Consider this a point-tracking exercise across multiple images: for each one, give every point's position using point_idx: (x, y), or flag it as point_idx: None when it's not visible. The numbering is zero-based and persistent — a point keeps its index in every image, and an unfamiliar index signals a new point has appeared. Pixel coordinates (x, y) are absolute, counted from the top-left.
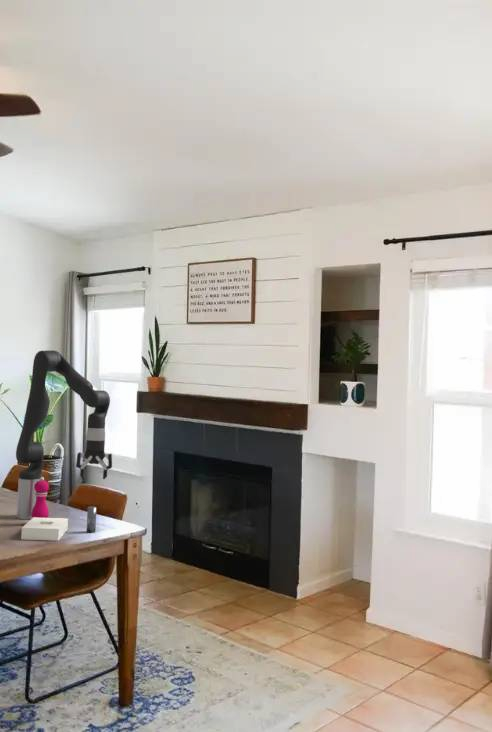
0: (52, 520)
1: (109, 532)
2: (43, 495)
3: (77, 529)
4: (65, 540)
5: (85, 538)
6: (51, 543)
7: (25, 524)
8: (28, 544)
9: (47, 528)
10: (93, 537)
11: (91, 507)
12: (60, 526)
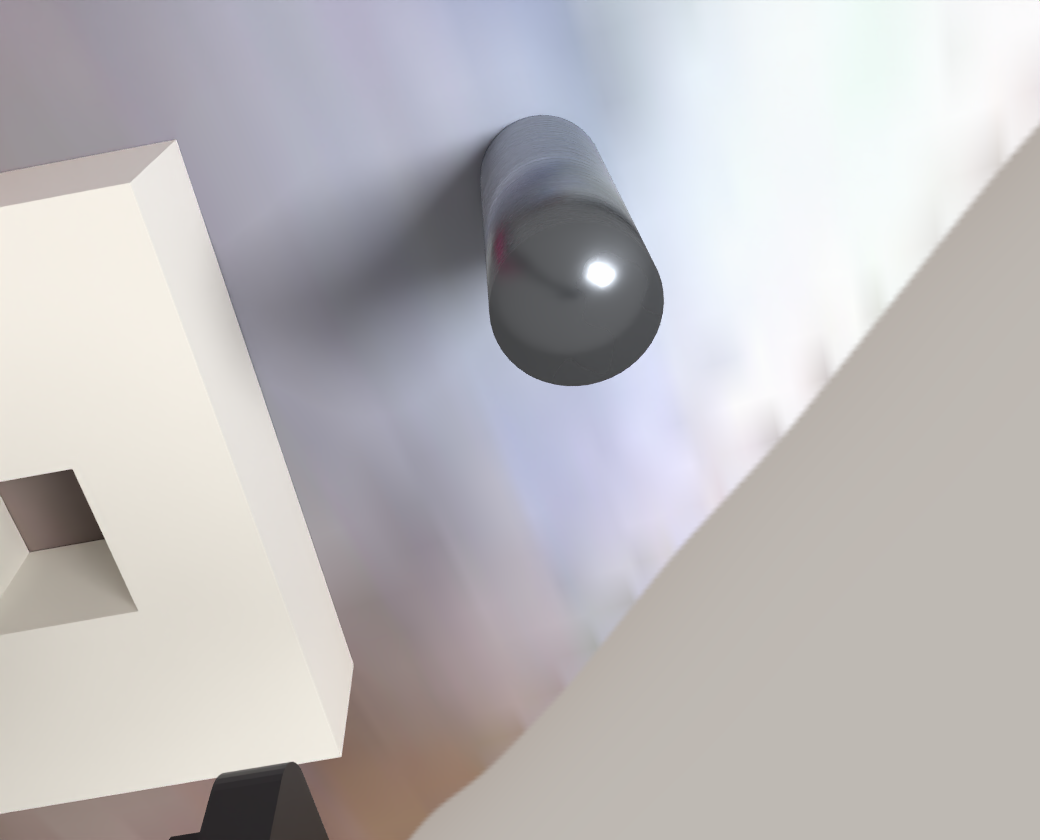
0: (3, 398)
1: (795, 121)
2: None
3: (305, 83)
4: (416, 636)
5: (583, 507)
6: (344, 758)
7: None
8: (175, 834)
9: (217, 776)
10: (656, 441)
11: (564, 314)
12: (300, 662)
